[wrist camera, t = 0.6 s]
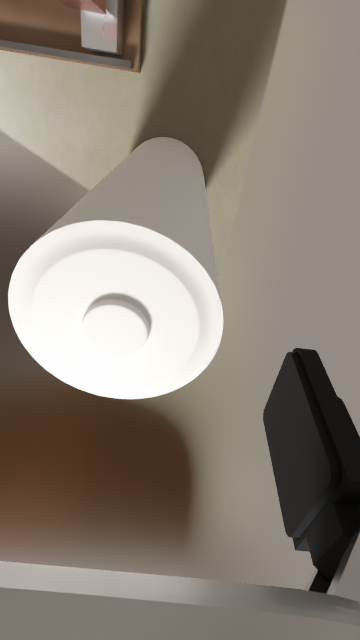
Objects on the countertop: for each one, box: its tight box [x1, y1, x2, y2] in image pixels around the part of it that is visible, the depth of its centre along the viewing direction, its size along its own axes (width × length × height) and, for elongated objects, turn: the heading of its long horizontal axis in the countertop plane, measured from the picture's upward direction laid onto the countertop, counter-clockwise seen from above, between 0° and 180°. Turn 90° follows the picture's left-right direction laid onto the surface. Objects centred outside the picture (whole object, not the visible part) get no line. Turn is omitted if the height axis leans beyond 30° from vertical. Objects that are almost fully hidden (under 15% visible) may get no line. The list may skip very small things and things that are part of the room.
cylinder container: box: [8, 137, 223, 399], centre depth 27 cm, size 9×9×30 cm
